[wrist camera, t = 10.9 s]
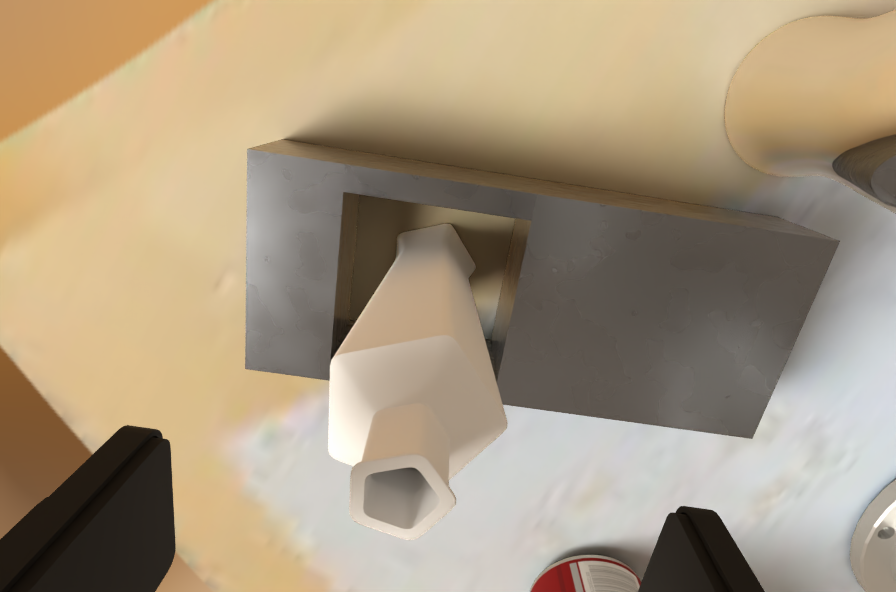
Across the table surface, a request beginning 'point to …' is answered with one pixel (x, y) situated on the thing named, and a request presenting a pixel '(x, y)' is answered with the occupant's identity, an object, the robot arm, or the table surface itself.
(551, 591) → the soda can
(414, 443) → the perfume bottle
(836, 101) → the beer glass
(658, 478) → the table surface
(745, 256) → the grey block with hole
